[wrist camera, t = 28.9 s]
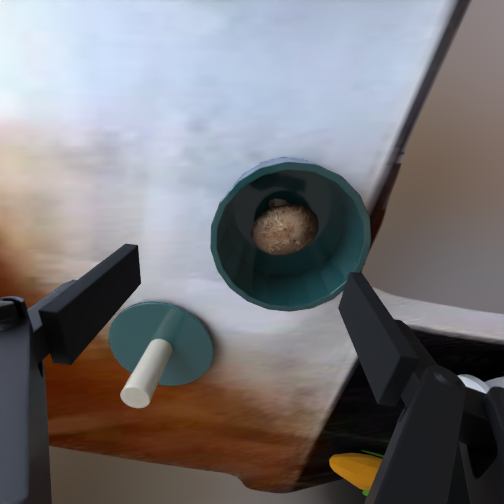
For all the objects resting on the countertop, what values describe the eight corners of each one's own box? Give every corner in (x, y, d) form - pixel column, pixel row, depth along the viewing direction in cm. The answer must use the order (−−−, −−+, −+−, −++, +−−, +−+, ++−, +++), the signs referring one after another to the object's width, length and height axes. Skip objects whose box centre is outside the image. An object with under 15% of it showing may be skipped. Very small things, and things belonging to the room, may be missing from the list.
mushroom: (259, 178, 28) (272, 222, 25) (320, 186, 31) (338, 226, 28) (239, 225, 34) (248, 265, 31) (291, 227, 37) (304, 264, 34)
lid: (94, 308, 41) (44, 357, 32) (196, 291, 39) (173, 338, 30) (136, 384, 48) (105, 444, 39) (226, 373, 45) (215, 434, 36)
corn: (421, 528, 48) (324, 500, 46) (400, 480, 55) (315, 454, 53) (445, 506, 45) (344, 475, 43) (420, 459, 52) (332, 431, 50)
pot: (207, 174, 32) (189, 184, 25) (341, 142, 30) (366, 143, 22) (239, 286, 38) (232, 320, 31) (352, 266, 36) (374, 298, 29)
